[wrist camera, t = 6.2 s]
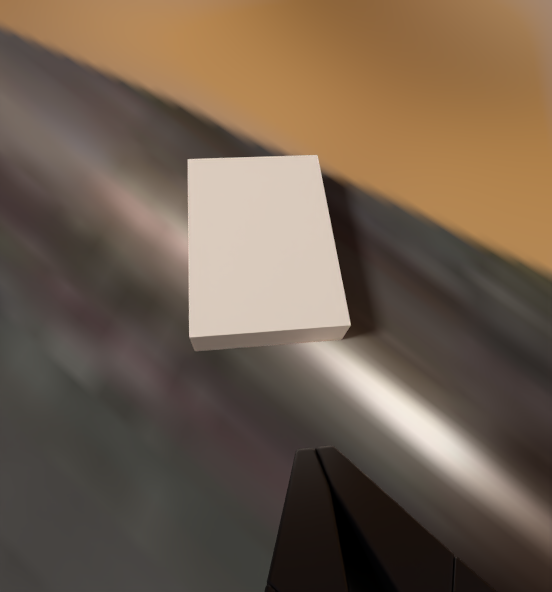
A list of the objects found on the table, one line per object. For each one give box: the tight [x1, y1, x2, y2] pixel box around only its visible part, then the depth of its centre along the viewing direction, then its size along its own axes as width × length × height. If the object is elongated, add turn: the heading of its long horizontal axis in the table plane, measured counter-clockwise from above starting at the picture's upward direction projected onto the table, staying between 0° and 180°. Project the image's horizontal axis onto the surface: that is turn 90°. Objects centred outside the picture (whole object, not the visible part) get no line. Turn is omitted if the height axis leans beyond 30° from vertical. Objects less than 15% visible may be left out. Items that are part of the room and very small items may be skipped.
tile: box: [188, 155, 351, 351], centre depth 20 cm, size 2×7×10 cm
